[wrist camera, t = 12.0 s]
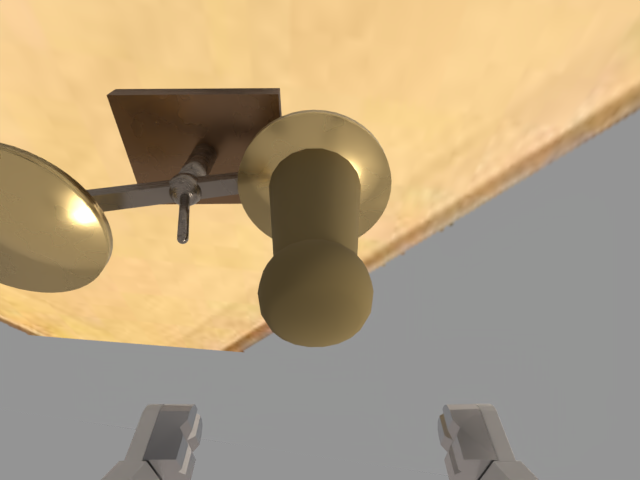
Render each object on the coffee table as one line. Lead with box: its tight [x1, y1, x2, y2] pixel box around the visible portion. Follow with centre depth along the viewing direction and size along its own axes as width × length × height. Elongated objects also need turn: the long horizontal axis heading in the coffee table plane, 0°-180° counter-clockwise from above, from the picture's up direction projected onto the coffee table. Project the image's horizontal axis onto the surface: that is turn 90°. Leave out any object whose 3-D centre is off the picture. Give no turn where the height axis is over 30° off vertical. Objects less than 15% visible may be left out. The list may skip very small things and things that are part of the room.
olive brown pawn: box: [258, 148, 374, 347], centre depth 20 cm, size 6×6×11 cm
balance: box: [0, 88, 392, 293], centre depth 25 cm, size 27×10×12 cm, turn 90°
